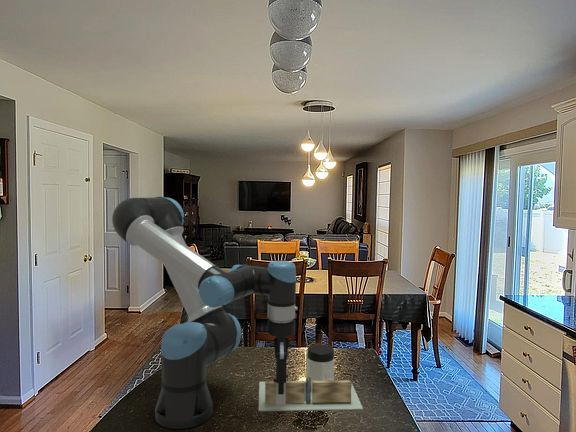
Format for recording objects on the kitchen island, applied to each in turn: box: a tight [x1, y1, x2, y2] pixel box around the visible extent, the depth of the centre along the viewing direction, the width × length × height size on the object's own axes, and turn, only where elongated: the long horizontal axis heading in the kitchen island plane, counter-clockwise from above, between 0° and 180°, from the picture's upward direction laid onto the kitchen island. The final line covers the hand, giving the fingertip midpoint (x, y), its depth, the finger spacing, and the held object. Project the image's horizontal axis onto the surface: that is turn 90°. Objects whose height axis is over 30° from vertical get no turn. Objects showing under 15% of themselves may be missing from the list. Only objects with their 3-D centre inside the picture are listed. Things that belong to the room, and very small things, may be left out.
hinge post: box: [305, 377, 311, 404], centre depth 119 cm, size 1×1×8 cm
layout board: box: [258, 380, 364, 412], centre depth 124 cm, size 29×17×1 cm, turn 93°
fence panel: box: [264, 380, 305, 403], centre depth 118 cm, size 11×2×6 cm, turn 93°
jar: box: [305, 343, 335, 391], centre depth 128 cm, size 9×8×12 cm
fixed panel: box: [312, 379, 353, 403], centre depth 119 cm, size 11×2×6 cm, turn 93°
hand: (280, 403), depth 115 cm, fingers closed
